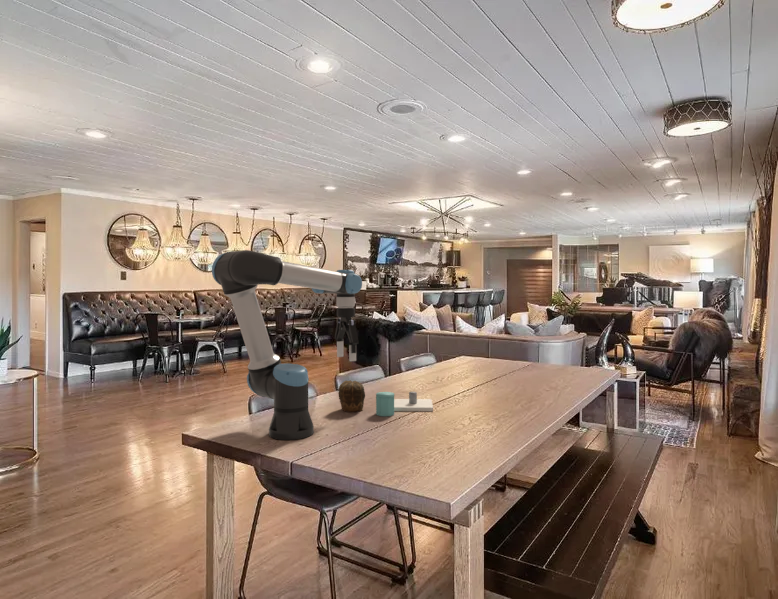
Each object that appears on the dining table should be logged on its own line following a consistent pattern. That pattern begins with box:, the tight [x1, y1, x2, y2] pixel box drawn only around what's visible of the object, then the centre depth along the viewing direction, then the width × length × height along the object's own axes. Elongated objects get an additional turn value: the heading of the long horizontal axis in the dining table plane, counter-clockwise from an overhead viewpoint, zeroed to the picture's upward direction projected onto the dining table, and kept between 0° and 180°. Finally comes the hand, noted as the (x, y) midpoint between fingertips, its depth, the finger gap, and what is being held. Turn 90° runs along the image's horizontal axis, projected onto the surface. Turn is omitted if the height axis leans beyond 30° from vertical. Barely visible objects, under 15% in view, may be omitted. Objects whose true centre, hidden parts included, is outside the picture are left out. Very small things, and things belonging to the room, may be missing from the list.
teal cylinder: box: [375, 391, 395, 417], centre depth 199 cm, size 7×7×8 cm
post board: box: [394, 391, 434, 412], centre depth 211 cm, size 15×16×6 cm
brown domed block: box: [338, 380, 366, 413], centre depth 206 cm, size 11×11×12 cm
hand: (346, 359), depth 208 cm, fingers open, 13 cm apart
